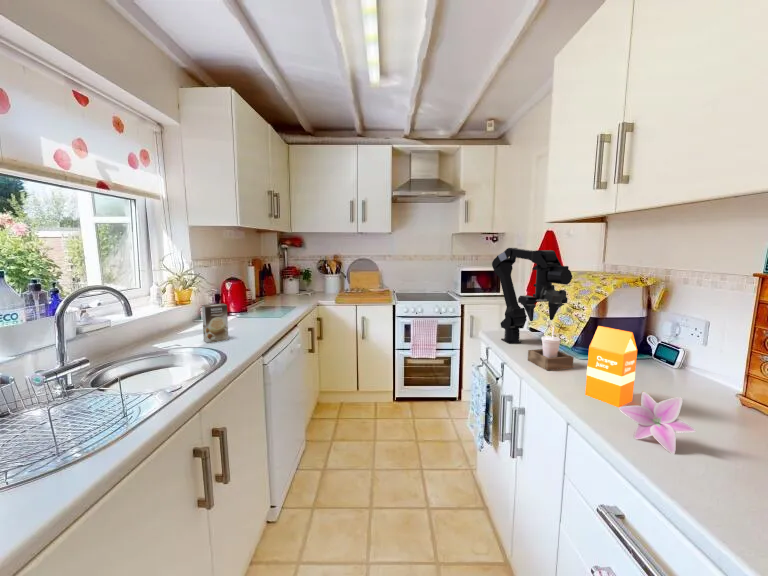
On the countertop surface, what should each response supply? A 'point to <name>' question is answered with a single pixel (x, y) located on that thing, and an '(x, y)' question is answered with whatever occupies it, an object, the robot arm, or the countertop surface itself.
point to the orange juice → (611, 366)
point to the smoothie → (550, 345)
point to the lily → (658, 420)
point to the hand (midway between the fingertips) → (541, 320)
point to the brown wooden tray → (550, 360)
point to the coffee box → (215, 322)
